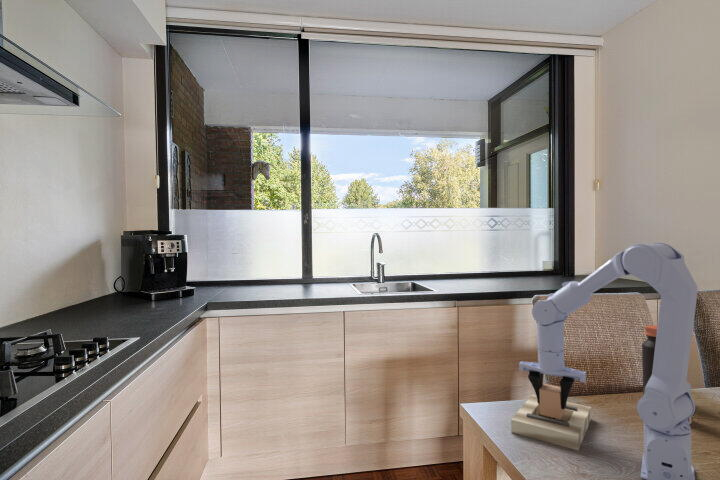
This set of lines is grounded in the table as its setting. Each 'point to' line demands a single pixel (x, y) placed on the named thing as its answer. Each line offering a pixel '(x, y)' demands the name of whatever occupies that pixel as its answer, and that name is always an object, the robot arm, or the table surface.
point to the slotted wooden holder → (552, 424)
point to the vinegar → (648, 354)
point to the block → (550, 401)
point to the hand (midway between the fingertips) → (552, 405)
